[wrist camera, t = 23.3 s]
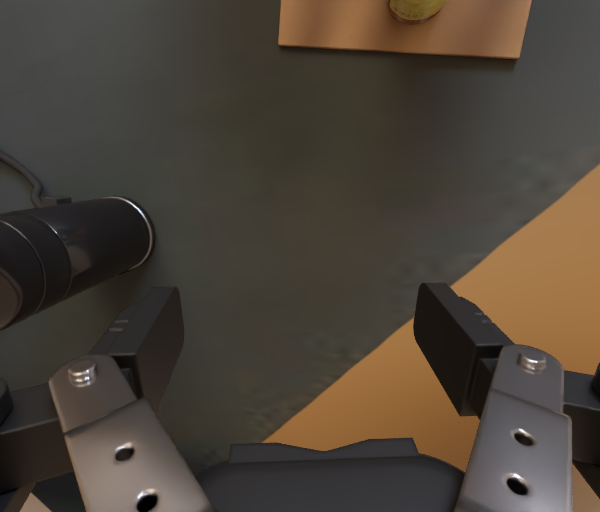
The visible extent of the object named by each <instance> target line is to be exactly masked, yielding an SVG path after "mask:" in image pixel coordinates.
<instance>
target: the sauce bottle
mask: <svg viewBox="0 0 600 512" xmlns="http://www.w3.org/2000/svg"><path fill="white" fill-rule="evenodd" d="M386 2H387V5H388V9H389V12H390V13H391V14H392V15H393V16H394V18H396V19H397V20H398V21H401V22H404V23H406V24H409V25H415V24H420V23H423V22H425V21H428V20H429V19H431V18H433V17H434V16H435V15H436V14H437V13H438V12H439V11H440V9H441V8H442V7H443V6H444V5H445V3H446V2H447V0H386Z"/></svg>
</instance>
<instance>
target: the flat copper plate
mask: <svg viewBox="0 0 600 512" xmlns="http://www.w3.org/2000/svg"><path fill="white" fill-rule="evenodd" d="M531 2H532V0H447V2H446V3H445V5H444V6H443V7H442V8H441V9H440V11H439V12H438V13H437V14H436V15H435V16H434V17H433V18H431V19H429V20H428V21H425V22H423V23H420V24H415V25H409V24H406V23H404V22H401V21H398V20H397V19H396V18H394V16H393V15H392V14H391V13H390V12H389V9H388V5H387V2H386V0H281V10H280V25H279V41H278V45H279V46H289V47H307V48H325V49H342V50H360V51H378V52H396V53H414V54H431V55H449V56H467V57H485V58H503V59H518V58H519V56H520V52H521V47H522V43H523V38H524V34H525V29H526V25H527V20H528V16H529V11H530V7H531Z"/></svg>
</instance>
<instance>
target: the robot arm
mask: <svg viewBox="0 0 600 512" xmlns="http://www.w3.org/2000/svg"><path fill="white" fill-rule="evenodd" d="M0 160H2V161H3V162H5V163H7V164H8V165H10V166H11V167H13V168H14V169H15V170H17V171H18V172H19V173H21V174H22V175H23V176H24V177H25V178H26V179H27V180H28V181H29V182H30V183H31V184H32V186H33V188H34V189H33V191H32V194H31V201H32V203H33V204H34V206H35V207H36V208H33V209H26V210H19V211H13V212H7V213H0V330H3V329H6V328H8V327H10V326H12V325H14V324H16V323H19V322H21V321H23V320H25V319H27V318H28V317H31V316H33V315H35V314H37V313H39V312H41V311H43V310H45V309H47V308H49V307H51V306H53V305H56V304H57V303H59V302H61V301H64V300H66V299H68V298H70V297H72V296H74V295H76V294H78V293H80V292H82V291H85V290H87V289H89V288H91V287H93V286H95V285H97V284H99V283H101V282H103V281H106V280H108V279H110V278H112V277H114V276H116V275H119V274H122V273H125V272H129V271H132V270H134V269H132V268H135V267H137V266H139V265H141V264H142V263H144V262H145V261H146V260H147V259H148V258H149V256H150V255H151V253H152V251H153V248H154V243H155V233H154V228H153V224H152V222H151V220H150V218H149V216H148V215H147V213H146V212H145V211H144V209H143V208H142V207H141V206H140V205H138V204H137V203H136V202H134V201H132V200H130V199H128V198H125V197H121V196H109V197H103V198H100V199H95V200H87V201H80V202H73V203H71V197H64V196H50V197H42V201H41V200H40V195H41V193H42V186H41V184H40V183H39V181H38V180H37V178H36V177H35V176H34V175H33V174H32V173H31V172H30V171H29V170H27V169H26V168H25V167H24V166H22V165H21V164H20V163H18V162H17V161H15V160H14V159H12V158H11V157H9V156H8V155H6V154H5V153H3V152H1V151H0ZM129 269H132V270H129ZM135 269H136V268H135ZM127 270H129V271H127ZM413 329H414V336H415V340H416V342H417V344H418V345H419V347H420V349H421V351H422V352H423V354H424V356H425V357H426V359H427V361H428V362H429V364H430V366H431V368H432V369H433V371H434V373H435V375H436V376H437V378H438V380H439V381H440V383H441V385H442V386H443V388H444V390H445V392H446V393H447V395H448V397H449V398H450V400H451V402H452V404H453V405H454V407H455V409H456V410H457V412H458V414H459V415H460V416H478V418H479V419H480V423H479V427H478V430H477V434H476V438H475V441H474V444H473V448H472V451H471V455H470V458H469V462H468V466H467V469H466V472H463V471H462V470H460V469H459V468H457V467H455V466H453V465H451V464H449V463H447V462H445V461H442V460H440V459H437V458H435V457H432V456H428V455H425V454H420V453H418V450H417V448H416V445H415V443H414V440H413V438H393V439H368V440H365V441H361V442H358V443H354V444H350V445H347V446H343V447H340V448H337V449H333V450H329V451H318V450H312V449H307V448H301V447H296V446H291V445H286V444H281V443H254V444H231V449H230V456H229V460H227V461H224V462H221V463H218V464H216V465H213V466H211V467H209V468H207V469H205V470H203V471H201V472H199V473H198V474H196V475H195V476H194V475H193V473H192V472H191V470H190V468H189V467H188V465H187V463H186V462H185V460H184V459H183V457H182V455H181V454H180V452H179V451H178V449H177V447H176V446H175V444H174V442H173V441H172V439H171V438H170V436H169V434H168V433H167V431H166V430H165V428H164V426H163V425H162V423H161V421H160V420H159V418H158V417H157V415H156V411H157V409H158V406H159V404H160V401H161V399H162V396H163V394H164V392H165V389H166V387H167V384H168V382H169V379H170V377H171V374H172V372H173V369H174V367H175V364H176V362H177V359H178V357H179V354H180V352H181V349H182V347H183V342H184V325H183V317H182V309H181V301H180V294H179V290H178V288H177V287H153V288H152V289H151V290H150V291H149V293H148V294H147V295H146V297H145V298H144V300H143V301H142V302H135V303H134V304H132V305H130V306H129V307H127V308H126V309H124V310H123V311H121V313H120V314H119V315H118V317H117V318H116V319H115V321H114V323H112V324H111V326H110V327H109V328H108V331H106V332H105V333H104V335H103V336H102V337H101V339H100V340H99V341H98V343H97V344H96V345H95V346H94V348H93V349H92V350H91V352H90V353H89V354H88V355H86V356H82V357H78V358H76V359H73V360H71V361H69V362H67V363H65V364H63V365H62V366H60V367H59V368H58V369H57V370H56V371H55V372H54V373H53V374H52V375H51V377H50V379H49V383H47V384H43V385H39V386H35V387H30V388H26V389H21V390H17V391H13V392H10V391H9V388H8V386H7V383H6V381H5V380H4V379H2V378H0V512H19V511H20V510H21V508H22V506H23V505H24V503H25V501H26V500H27V498H28V496H29V494H30V493H31V491H32V489H33V488H34V486H35V484H36V483H37V482H40V481H43V480H47V479H50V478H53V477H56V476H60V475H63V474H66V473H69V472H73V471H75V475H76V478H77V481H78V485H79V488H80V491H81V495H82V498H83V501H84V505H85V508H86V511H87V512H573V486H572V484H573V483H572V463H573V464H574V466H575V467H576V468H577V470H578V471H579V472H580V474H581V475H582V476H583V478H584V479H585V480H586V482H587V483H588V484H589V485H590V487H591V488H592V489H593V491H594V492H595V493H596V495H597V496H598V497H599V499H600V363H599V365H598V367H597V370H596V372H595V375H588V374H582V373H577V372H571V371H565V370H564V369H563V366H562V365H561V364H560V362H559V361H558V360H557V359H555V358H554V357H553V356H551V355H550V354H548V353H546V352H544V351H542V350H539V349H537V348H534V347H530V346H525V345H518V344H514V343H513V342H512V341H511V340H510V339H509V338H508V337H507V336H506V335H505V334H504V333H503V332H502V331H501V330H500V329H499V328H498V327H497V326H496V325H495V324H494V323H492V321H491V320H490V319H489V318H488V317H487V316H486V315H484V313H483V312H482V311H481V310H480V309H479V308H478V307H477V306H476V305H475V304H474V303H472V302H470V301H468V300H466V299H465V298H463V297H458V295H456V293H455V292H454V291H453V290H452V289H451V288H450V287H449V286H448V285H447V284H446V283H422V284H421V285H420V287H419V291H418V297H417V304H416V311H415V317H414V325H413Z"/></svg>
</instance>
